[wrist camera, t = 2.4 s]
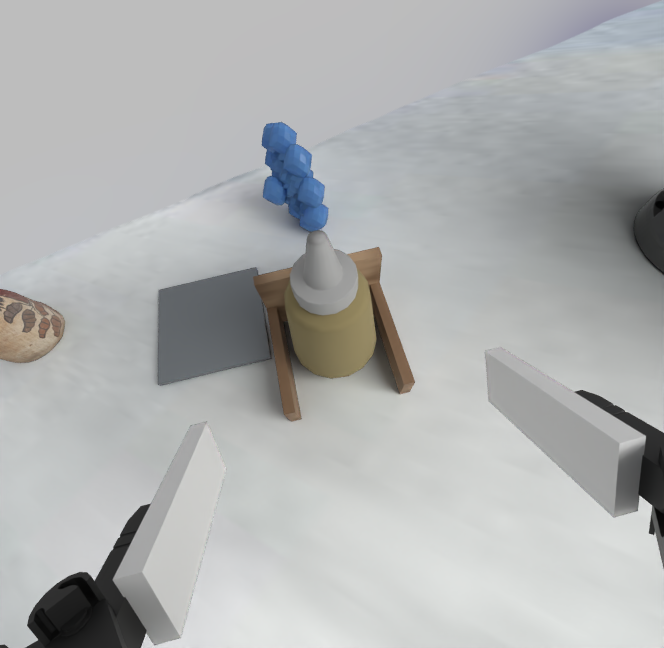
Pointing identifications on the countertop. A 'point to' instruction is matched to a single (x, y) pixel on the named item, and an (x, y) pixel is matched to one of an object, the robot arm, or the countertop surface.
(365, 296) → the squeeze bottle
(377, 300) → the brown wooden frame
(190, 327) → the rubber mat
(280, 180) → the grapes
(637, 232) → the robot arm
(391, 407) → the countertop surface
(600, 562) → the countertop surface
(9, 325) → the figurine
